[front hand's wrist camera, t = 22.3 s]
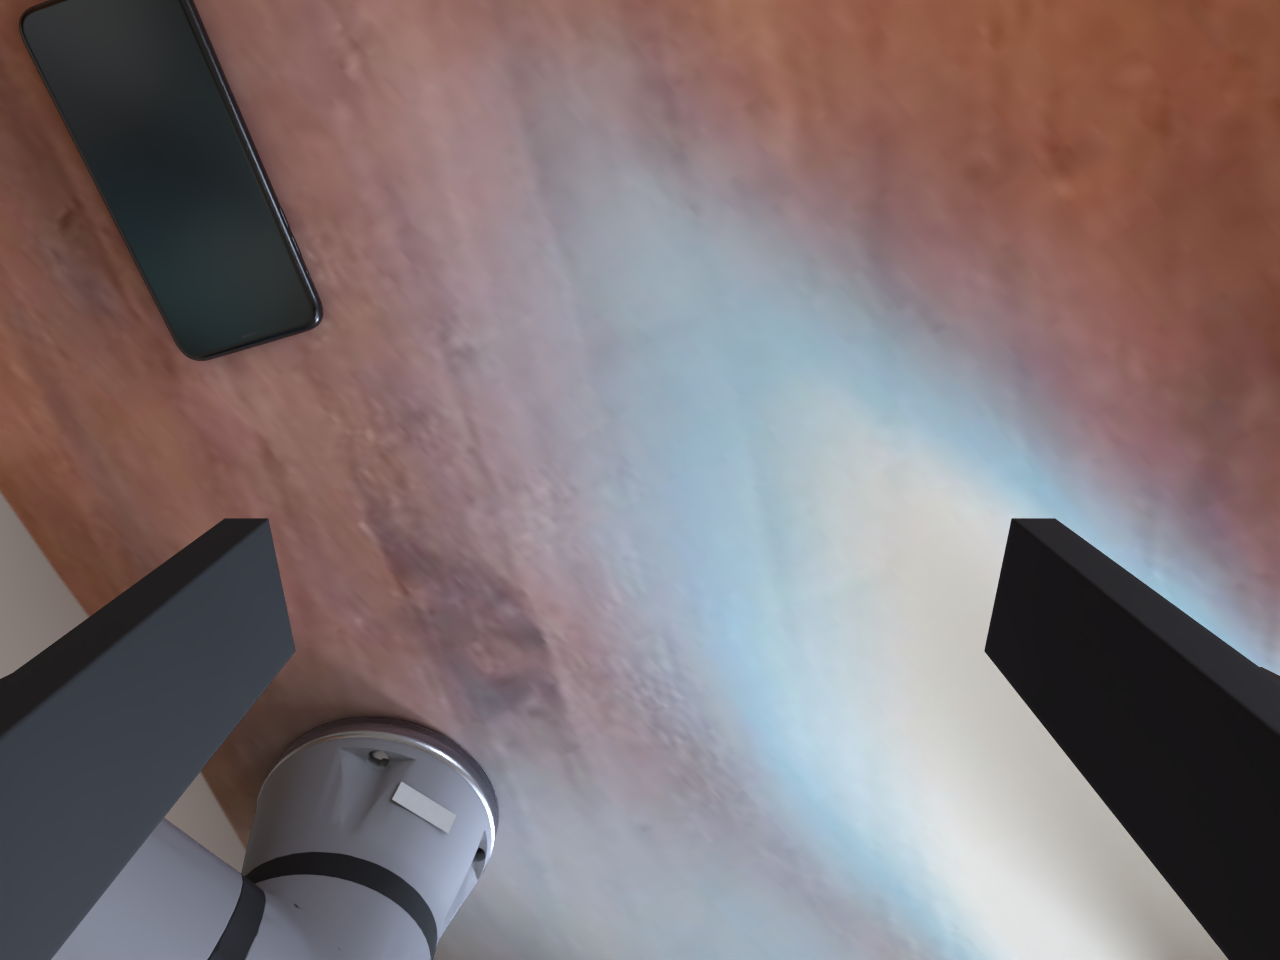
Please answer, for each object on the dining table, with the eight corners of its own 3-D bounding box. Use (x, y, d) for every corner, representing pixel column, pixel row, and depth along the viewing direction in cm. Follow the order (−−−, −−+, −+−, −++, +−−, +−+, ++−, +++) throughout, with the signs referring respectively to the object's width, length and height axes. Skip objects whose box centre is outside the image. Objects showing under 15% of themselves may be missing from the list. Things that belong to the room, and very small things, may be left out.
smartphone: (20, 18, 31) (194, 364, 36) (3, 12, 30) (183, 367, 35) (181, -39, 30) (334, 322, 36) (168, -47, 29) (327, 325, 35)
